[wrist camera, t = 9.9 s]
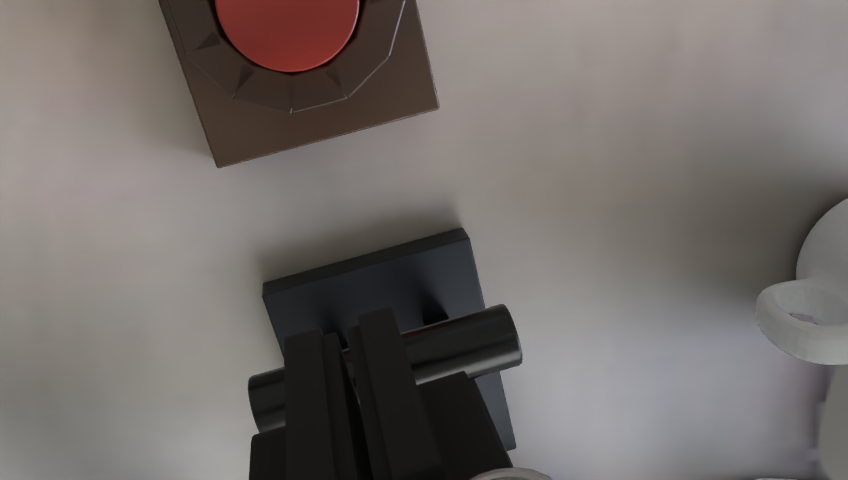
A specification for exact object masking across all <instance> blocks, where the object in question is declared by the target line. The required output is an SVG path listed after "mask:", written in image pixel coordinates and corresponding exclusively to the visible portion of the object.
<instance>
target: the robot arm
mask: <svg viewBox="0 0 848 480" xmlns="http://www.w3.org/2000/svg"><path fill="white" fill-rule="evenodd" d="M358 321H359V325H357V326H354V327H350V328H347V329H346V330H347V336H348V341H349V347H350V352H351V358H352V363H353V369H354V374H355V380H356V386H357V391H358V397H359V400H358V397H357V394H356V391H355V388H354V385H353V382H352V379H351V376H350V373H349V370H348V366H347V363H346V360H345V357H344V354H343V351H342V348H341V345H340V342H339V339H338V336H337V334H336V332H334V333H330V334H327V335H324V336H323V333H322V331H321V329H320V327H318V328H314V329H311V330H308V331H304V332H301V333H298V334H294V335H291V336H288V337H285V338H284V365H285V426H282V427H279V428H275V429H272V430H269V431H266V432H262V433H259V434H256V435H254V436H253V437H252V441H251V454H250V471H249V480H552V479H551V478H550V477H548V476H547V475H544V474H542V473H539V472H537V471H534V470H531V469H523V468H515V467H513V468H508V466H507V464H506V461H505V459H504V457H503V455H502V452H501V450H500V448H499V446H498V443H497V441H496V439H495V437H494V434H493V432H492V430H491V428H490V425H489V423H488V421H487V419H486V416H485V414H484V412H483V410H482V408H481V405H480V403H479V401H478V399H477V396H476V394H475V392H474V390H473V387H472V385H471V383H470V381H469V378H468V376H467V374H466V372H465V371H460V372H457V373H454V374H451V375H447V376H444V377H441V378H438V379H434V380H431V381H428V382H425V383H421V384H418V385H417V384H416V381H415V378H414V375H413V372H412V369H411V366H410V362H409V359H408V356H407V353H406V350H405V347H404V344H403V341H402V337H401V334H400V331H399V328H398V325H397V322H396V319H395V315H394V312H393V309H392V306H388V307H384V308H381V309H378V310H374V311H371V312H368V313H364V314H361V315H358ZM359 402H360V403H359Z"/></svg>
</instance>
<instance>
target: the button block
mask: <svg viewBox="0 0 848 480" xmlns="http://www.w3.org/2000/svg"><path fill="white" fill-rule="evenodd" d="M158 1H159V4H160V7H161V10H162V13H163V16H164V19H165V21H166V24H167V27H168V30H169V33H170V36H171V39H172V41H173V44H174V47H175V50H176V53H177V56H178V58H179V61H180V64H181V67H182V70H183V73H184V76H185V78H186V81H187V84H188V87H189V90H190V93H191V95H192V98H193V101H194V104H195V107H196V110H197V113H198V115H199V118H200V121H201V124H202V127H203V130H204V132H205V135H206V138H207V141H208V144H209V147H210V150H211V152H212V155H213V158H214V161H215V164H216V167H217V168H222V167H226V166H230V165H233V164H237V163H241V162H245V161H248V160H252V159H256V158H259V157H263V156H267V155H271V154H274V153H278V152H282V151H285V150H289V149H293V148H297V147H300V146H304V145H308V144H311V143H315V142H319V141H323V140H326V139H330V138H334V137H338V136H341V135H345V134H349V133H352V132H356V131H360V130H364V129H367V128H371V127H375V126H378V125H382V124H386V123H390V122H393V121H397V120H401V119H404V118H408V117H412V116H416V115H419V114H423V113H427V112H430V111H434V110H438V109H439V108H440V106H439V101H438V97H437V92H436V88H435V83H434V79H433V74H432V70H431V66H430V61H429V57H428V52H427V48H426V43H425V39H424V35H423V30H422V26H421V21H420V17H419V12H418V8H417V3H416V0H359V12H358V17H357V21H356V24H355V27H354V30H353V32H352V34H351V36H350V38H349V40H348V41H347V43H346V44H345V45H344V47H343V48H342V49H341V50H340V51H339V52H338V53H337V54H336V55H335V56H334V57H333V58H331V59H330V60H328V61H327V62H325V63H323V64H321V65H319V66H317V67H315V68H312V69H309V70H304V71H297V72H284V71H277V70H272V69H269V68H266V67H263V66H261V65H259V64H257V63H255V62H253V61H252V60H250V59H249V58H247V57H246V56H245V55H243V54H242V53H241V52H240V51H239V50H238V49H237V48H236V47H235V46H234V45H233V44H232V42H231V41H230V40H229V38H228V37H227V35H226V34H225V32H224V30H223V28H222V26H221V24H220V21H219V18H218V15H217V11H216V7H215V0H158Z"/></svg>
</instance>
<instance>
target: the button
mask: <svg viewBox="0 0 848 480" xmlns="http://www.w3.org/2000/svg"><path fill="white" fill-rule="evenodd" d="M215 7H216V11H217V15H218V18H219V21H220V24H221V26H222V28H223V30H224V32H225V34H226V35H227V37H228V38H229V40H230V41H231V42H232V44H233V45H234V46H235V47H236V48H237V49H238V50H239V51H240V52H241V53H242V54H243V55H245V56H246V57H247V58H249V59H250V60H252V61H253V62H255V63H257V64H259V65H261V66H263V67H266V68H269V69H272V70H277V71H284V72H297V71H304V70H309V69H312V68H315V67H317V66H319V65H321V64H323V63H325V62H327V61H328V60H330V59H331V58H333V57H334V56H335V55H336V54H337V53H338V52H339V51H340V50H341V49H342V48H343V47H344V45H345V44H346V43H347V41H348V40H349V38H350V36H351V34H352V32H353V30H354V27H355V24H356V21H357V17H358V12H359V0H215Z"/></svg>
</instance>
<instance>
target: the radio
mask: <svg viewBox="0 0 848 480" xmlns="http://www.w3.org/2000/svg"><path fill="white" fill-rule="evenodd" d="M754 480H795V479H776V478H759V479H754Z"/></svg>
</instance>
